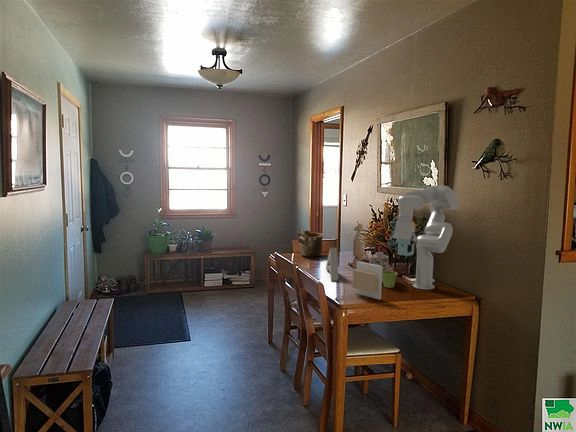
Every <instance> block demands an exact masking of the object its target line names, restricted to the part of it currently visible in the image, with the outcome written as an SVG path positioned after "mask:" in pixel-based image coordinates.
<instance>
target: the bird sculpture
mask: <svg viewBox="0 0 576 432" xmlns="http://www.w3.org/2000/svg"><path fill="white" fill-rule="evenodd" d="M353 229H354V230H353V231H357V232H356V234H355V236H354V239H353V246H352V247H353V248H352V252H353V256H354V258H353V259H352V260H353V261H352V262H348V263H347V265H348V266H352V269H356V263H357V262H358V261H359V262H363V244H362V241H361V240H360V235H361V232H362V229H363V224H362V223H358V225H356V226H355V227H354V228H353Z"/></svg>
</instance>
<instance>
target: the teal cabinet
mask: <svg viewBox="0 0 576 432" xmlns="http://www.w3.org/2000/svg"><path fill="white" fill-rule="evenodd" d="M417 239H418V238H417ZM413 240H414V239H412V241H413ZM416 244H417V241H416V242H415V243H414V244H413V245H412V251H411V252H407V249H408V245H409V244H408V240H402V239H398V251H397V255H400V256H405V257H408V256H412V255H414V254H415V253H414V252H415V245H416Z"/></svg>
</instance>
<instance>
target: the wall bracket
mask: <svg viewBox="0 0 576 432" xmlns="http://www.w3.org/2000/svg"><path fill="white" fill-rule="evenodd" d="M329 248H330V249H329V251H328V255H327V259H326V264H325V270H326V272H329V273H330V281H331V282H339V262H338V247H329Z"/></svg>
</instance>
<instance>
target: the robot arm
mask: <svg viewBox="0 0 576 432" xmlns="http://www.w3.org/2000/svg"><path fill="white" fill-rule="evenodd" d="M426 204H429V209H430V217H429V219H428V221H427V223H426V225H425V227H424V234H420V235H418V236H417V235H416V234H415V223H414V221H413V220H414V219H413V218H414V217H413V214H414V210H420V209H422V208H423V207H424V205H426ZM397 205H398V215H397V216H396V219H397V220H396V223H395V228H394V233H393V234H392V235H391V238H393V240H394V243H395V244H396V245H395V246H396V251H397V252H398V239H402V240H408V244H409V245H408V249H407V252H411V251H412V245H413V244H414V243H415V242H416V241H417V244H414V245H416V246H415V247H416V266H415V267H416V268H415V282H414V283H412V287H413V288H415V289H419V290H433V289H435V285H434V284H433V283H434V282H435V281H436V280H435V279H434V278H433V273H434V256H433V254H432V253H437V254H441V253H444V252H445V251H446V250H447V247H448V245H449V243H450V240H451V238H452V236H453V229H454V228H453V226H452V224H451V223H448V222H445V220H446V216H445V214H444V212H443V211H442V210H451V211H453V210H456V209H457V208H458V207H459V198H458V197H457V195H456V193H455V191H454V190H453V189H452V188H451V187H449V186H448V185H430V186H428V187H426V188H423V189H419V190H418V189H417V190H414V191H409V192H406V193H403V194H401V195H399V197H398V199H397ZM457 206H458V207H457ZM417 238H418V239H417ZM412 239H414V240H413V241H412Z"/></svg>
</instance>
